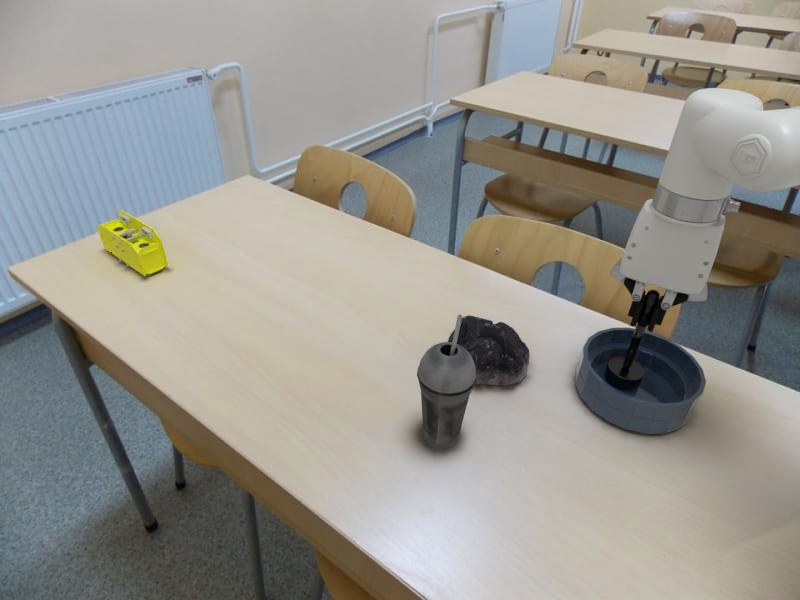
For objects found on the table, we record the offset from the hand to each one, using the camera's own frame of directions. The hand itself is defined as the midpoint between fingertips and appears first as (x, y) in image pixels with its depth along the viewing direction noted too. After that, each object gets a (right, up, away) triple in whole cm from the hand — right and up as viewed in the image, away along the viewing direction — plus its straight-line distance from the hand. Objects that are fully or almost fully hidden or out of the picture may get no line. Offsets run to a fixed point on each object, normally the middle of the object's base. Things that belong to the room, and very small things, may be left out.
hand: (642, 322), depth 72 cm
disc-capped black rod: (0, -8, +6) cm, 10 cm away
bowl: (+1, -11, +5) cm, 12 cm away
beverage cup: (-28, -15, -2) cm, 32 cm away
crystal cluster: (-20, -7, +10) cm, 23 cm away
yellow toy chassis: (-87, +11, +33) cm, 93 cm away
